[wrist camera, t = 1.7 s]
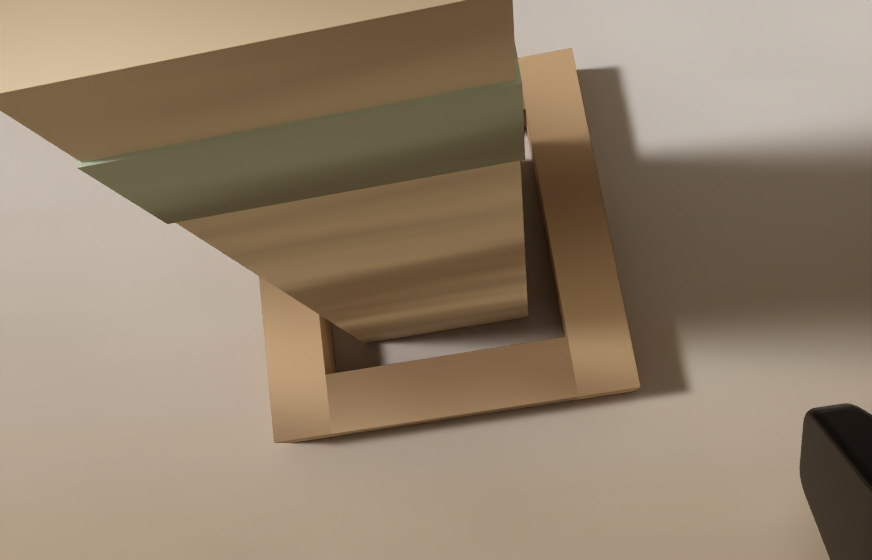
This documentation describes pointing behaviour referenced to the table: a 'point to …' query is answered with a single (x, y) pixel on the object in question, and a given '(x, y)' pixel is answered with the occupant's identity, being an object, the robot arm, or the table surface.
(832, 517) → the robot arm
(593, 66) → the table surface
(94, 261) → the table surface
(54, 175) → the table surface
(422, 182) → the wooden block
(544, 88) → the square wooden frame
